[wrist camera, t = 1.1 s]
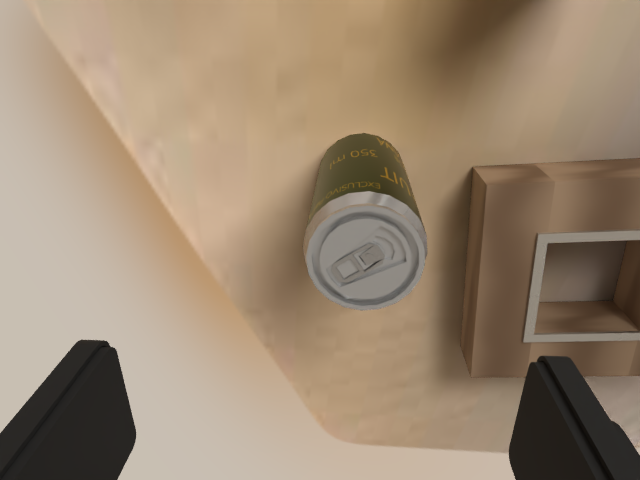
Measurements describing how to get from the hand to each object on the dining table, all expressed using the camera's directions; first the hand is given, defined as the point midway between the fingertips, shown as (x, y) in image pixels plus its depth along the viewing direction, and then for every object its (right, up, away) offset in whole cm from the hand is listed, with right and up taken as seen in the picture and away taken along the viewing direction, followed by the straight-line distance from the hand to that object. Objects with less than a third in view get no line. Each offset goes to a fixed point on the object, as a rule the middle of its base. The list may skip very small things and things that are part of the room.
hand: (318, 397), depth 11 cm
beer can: (+3, +8, +20) cm, 21 cm away
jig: (+17, +2, +21) cm, 27 cm away
